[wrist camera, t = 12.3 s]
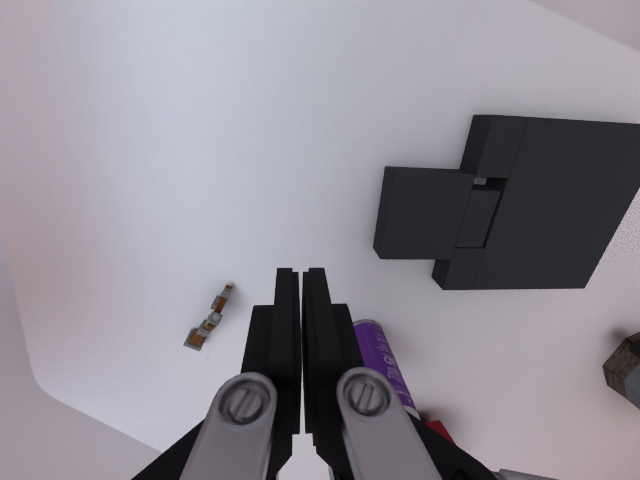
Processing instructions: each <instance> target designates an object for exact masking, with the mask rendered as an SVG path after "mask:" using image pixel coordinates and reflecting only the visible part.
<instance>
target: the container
mask: <svg viewBox="0 0 640 480" xmlns="http://www.w3.org/2000/svg"><path fill="white" fill-rule="evenodd" d="M353 326H354V330H355V333H356V337H357V340H358V344H359V347H360V351H361V354H362V358H363V361H364V365H365V367H366V368H370V369H373V370H375V371H377V372H379V373H381V374H382V375H384V376H385V377H386V378H387V379H388V380H389V381H390V383H391V384H392V386H393V387H394V389H395V391H396V393H397V395H398V396H399V398H400V400H401V402H402V404H403V406H404V408H405V410H406V411H408V412H409V413H411V414H412V415H414V416H415V417H416V418H418V419H419V420H420V417H419V414H418V412H417V410H416V407H415V405H414V403H413V400H412V398H411V396H410V393H409V391H408V389H407V386H406V384H405V382H404V379H403V377H402V374H401V372H400V370H399V367H398V365H397V363H396V360H395V358H394V356H393V353H392V351H391V349H390V346H389V344H388V342H387V339H386V337H385V335H384V332H383V330H382V328H381V326H380V325H379V324H378V323H377V322H375V321H372V320H360V321H357V322H355V323H353Z"/></svg>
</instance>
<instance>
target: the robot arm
mask: <svg viewBox="0 0 640 480" xmlns="http://www.w3.org/2000/svg"><path fill="white" fill-rule="evenodd" d="M301 341H302V347H301ZM302 365H303V388H304V412H305V432H306V434H307V433H312V434H313V446H316V453H317V454H318V455H319V456H320V457H321V458H322V459H323V460H324V461H325V462H326V463H327V464H328V470H329V475H330V480H557V479H552V478H547V477H542V476H537V475H532V474H526V473H521V472H516V471H511V470H506V469H500V471H499V472H493V471H490V470H489V469H488V468H486V467H485V466H484V465H483V464H482V463H480V462H479V461H478V460H476V459H475V458H473V457H472V456H470V455H469V454H468V453H466V452H465V451H463V450H462V449H460V448H459V447H458V446H456V445H455V444H453V443H452V442H451V441H449V440H448V439H446V438H445V437H443V436H442V435H441V434H439V433H438V432H436V431H435V430H433V429H432V428H431V427H429V426H428V425H426V424H425V423H423V422H422V421H421V420H419V419H418V418H416V417H415V416H414V415H412V414H411V413H409V412H408V411H406V410H405V408H404V406H403V404H402V402H401V400H400V398H399V396H398V395H397V393H396V391H395V389H394V387H393V386H392V384H391V383H390V381H389V380H388V379H387V378H386V377H385V376H384V375H382V374H381V373H379V372H377V371H375V370H373V369H370V368H366V367H365V365H364V361H363V358H362V354H361V351H360V347H359V344H358V340H357V337H356V333H355V330H354V326H353V322H352V319H351V315H350V312H349V308H348V306H347V304H331V299H330V294H329V289H328V285H327V280H326V275H325V270H324V268H309V272H303V287H302V321H301V323H300V299H299V275H298V272H292V268H277V276H276V287H275V298H274V305H254V307H253V311H252V316H251V321H250V326H249V331H248V337H247V342H246V347H245V352H244V357H243V363H242V368H241V373H240V374H239V375H236V376H234V377H233V378H231V379H229V380H228V381H226V382H225V383H224V384H223V385H222V386H221V387H220V388H219V390H218V392H217V393H216V395H215V397H214V399H213V401H212V404H211V406H210V408H209V411H208V413H207V415H206V418H205V419H204V420H203V421H201V422H200V423H199V424H198V425H197V426H195V427H194V428H193V429H192V430H191V431H189V432H188V433H187V434H186V435H184V436H183V437H182V438H181V439H180V440H178V441H177V442H176V443H175V444H174V445H172V446H171V447H170V448H169V449H168V450H166V451H165V452H164V453H163V454H161V455H160V456H159V457H158V458H157V459H155V460H154V461H153V462H152V463H151V464H149V465H148V466H147V467H146V468H145V469H144V470H142V471H141V472H140V473H138V474H137V475H136V476H135V477H134V478H132V479H131V480H278V477H279V470H280V469H281V468H282V467H283V465H284V464H285V463H286V462H287V461H288V459H289V458H290V457H291V456H292V435H293V434H300V407H301V377H302Z"/></svg>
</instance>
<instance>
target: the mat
mask: <svg viewBox="0 0 640 480" xmlns="http://www.w3.org/2000/svg"><path fill="white" fill-rule="evenodd" d="M460 170H462V171H465V172H468V173H471V174H475V177H488V179H487V182H486V186H488V187H491V188H493V189H496V190H499V191H501V192H500V195H499V198H498V201H497V204H496V207H495V210H494V213H493V216H492V219H491V222H490V225H489V228H488V231H487V234H486V237H485V240H484V243H483V246H482V247H455V248H454V252H453V255H452V259H436V261H435V265H434V269H433V273H432V278H433V279H434V280H435V282H436V283H437V284H438V285H439V286H440V287H441V288H442V290H492V289H575V288H585V286H586V285H587V283H588V281H589V279H590V277H591V275H592V274H593V272H594V270H595V268H596V266H597V264H598V263H599V261H600V259H601V257H602V255H603V253H604V252H605V250H606V248H607V246H608V244H609V243H610V241H611V239H612V237H613V235H614V233H615V232H616V230H617V228H618V226H619V224H620V222H621V221H622V219H623V217H624V215H625V213H626V211H627V210H628V208H629V206H630V204H631V202H632V200H633V199H634V197H635V195H636V193H637V191H638V189H639V188H640V124H632V123H616V122H600V121H584V120H568V119H552V118H536V117H520V116H504V115H474V116H473V120H472V124H471V128H470V131H469V135H468V139H467V143H466V147H465V151H464V154H463V158H462V162H461V166H460Z"/></svg>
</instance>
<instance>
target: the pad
mask: <svg viewBox="0 0 640 480" xmlns="http://www.w3.org/2000/svg"><path fill="white" fill-rule="evenodd" d="M474 179H475V174H471V173H468V172H465V171H462V170H459V169H434V168H408V167H385V171H384V178H383V184H382V191H381V198H380V205H379V211H378V218H377V225H376V232H375V238H374V245H373V248H374V250H375V251H376V253H377V255H378V256H379V258H380V259H452V255H453V252H454V248H455V247H482V246H483V243H484V240H485V237H486V234H487V231H488V228H489V225H490V222H491V219H492V216H493V213H494V210H495V207H496V204H497V201H498V198H499V195H500V192H501V191H499V190H496V189H493V188H491V187H488V186H485V185H482V184H473V182H474Z"/></svg>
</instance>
